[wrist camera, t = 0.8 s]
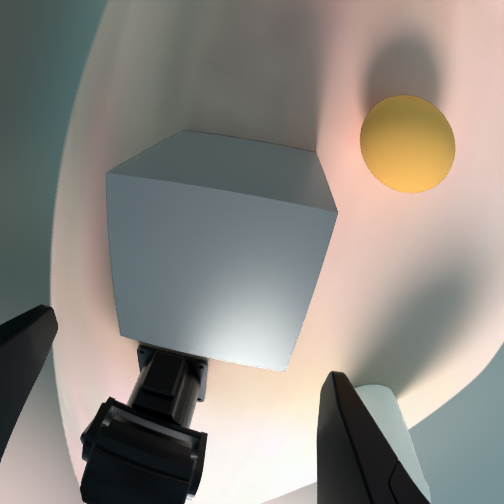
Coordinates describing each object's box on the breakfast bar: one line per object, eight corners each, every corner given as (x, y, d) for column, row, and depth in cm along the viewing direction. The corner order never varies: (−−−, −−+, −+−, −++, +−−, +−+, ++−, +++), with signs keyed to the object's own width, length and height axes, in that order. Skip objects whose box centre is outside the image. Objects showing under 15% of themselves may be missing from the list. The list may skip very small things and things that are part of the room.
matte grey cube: (289, 266, 21) (285, 371, 14) (175, 244, 21) (120, 335, 14) (316, 152, 17) (338, 212, 10) (183, 130, 17) (106, 173, 10)
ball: (418, 185, 17) (453, 219, 13) (342, 164, 17) (360, 193, 13) (439, 108, 15) (484, 121, 11) (361, 81, 15) (388, 82, 11)
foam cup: (301, 396, 28) (296, 523, 17) (391, 360, 25) (417, 498, 14) (342, 432, 32) (344, 534, 20) (417, 404, 28) (437, 511, 17)
